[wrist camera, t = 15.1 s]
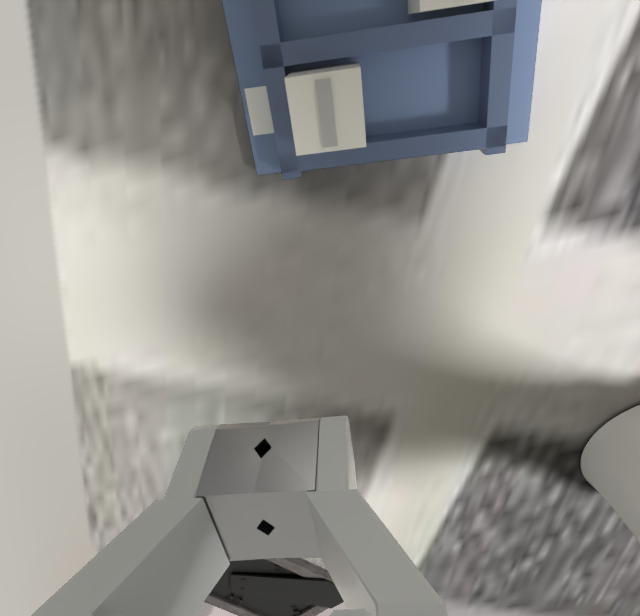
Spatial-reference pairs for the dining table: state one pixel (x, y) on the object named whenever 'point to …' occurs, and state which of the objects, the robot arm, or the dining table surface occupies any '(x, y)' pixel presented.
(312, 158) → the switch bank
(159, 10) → the dining table surface
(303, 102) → the white box with stripe
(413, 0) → the white small carton
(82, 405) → the dining table surface
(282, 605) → the picture frame
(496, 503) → the dining table surface
